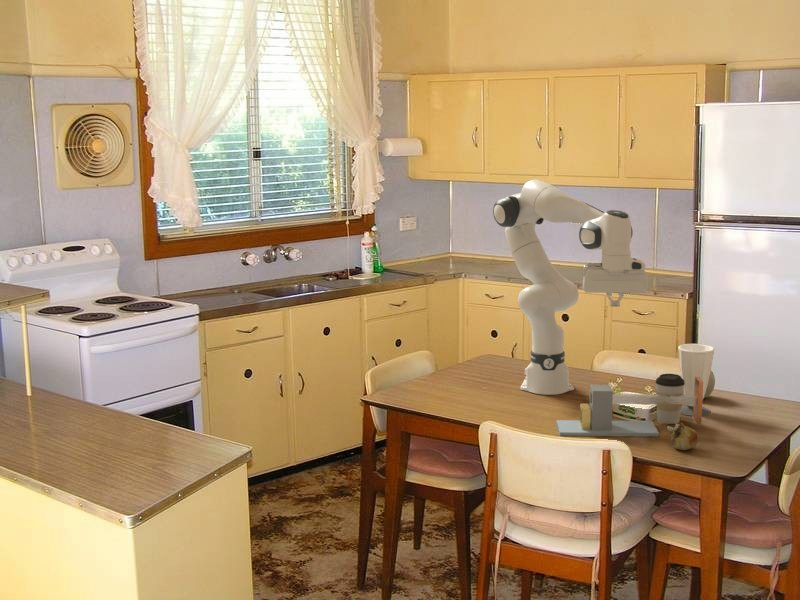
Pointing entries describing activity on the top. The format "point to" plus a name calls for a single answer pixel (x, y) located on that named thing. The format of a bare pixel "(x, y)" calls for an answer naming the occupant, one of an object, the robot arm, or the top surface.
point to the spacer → (585, 416)
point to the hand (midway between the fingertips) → (614, 306)
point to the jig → (605, 419)
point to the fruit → (710, 385)
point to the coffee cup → (669, 386)
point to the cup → (695, 371)
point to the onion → (683, 437)
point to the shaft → (667, 399)
